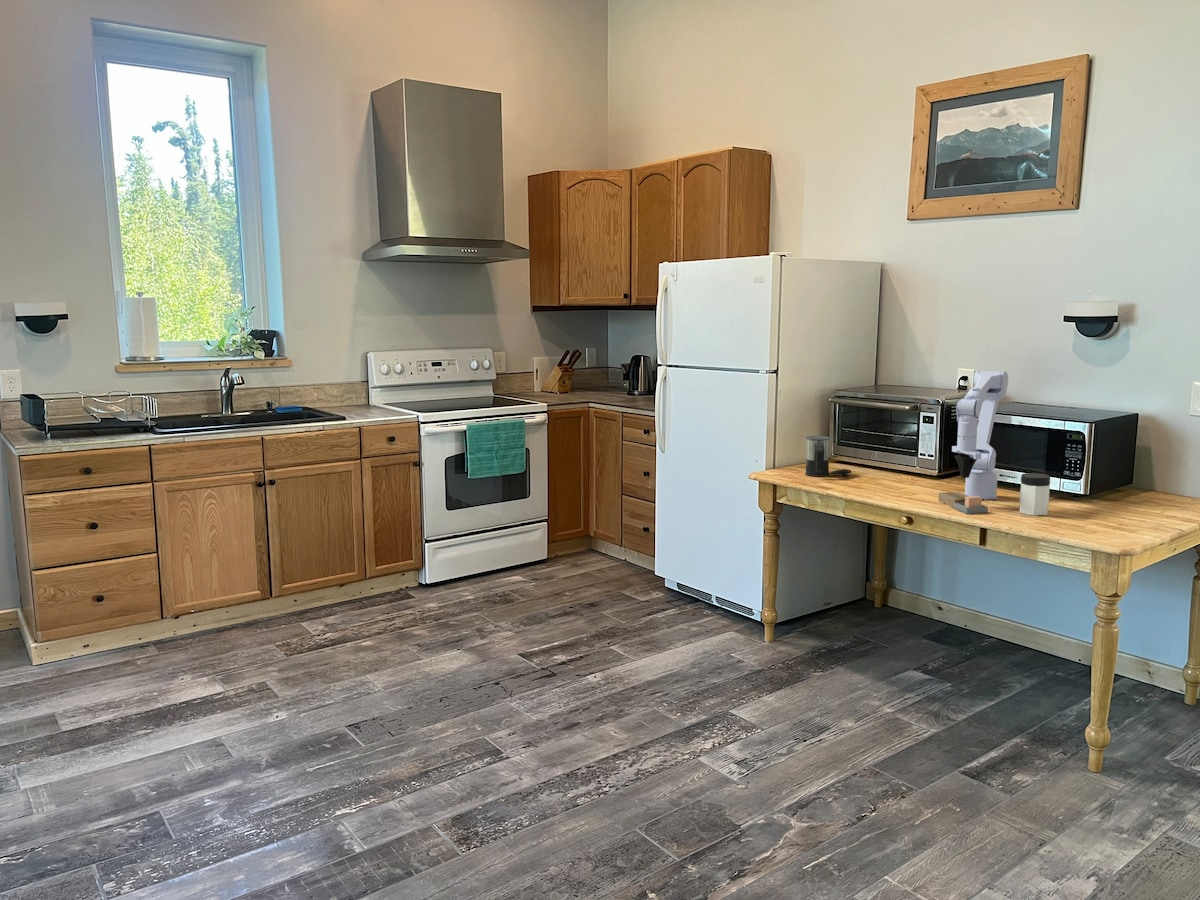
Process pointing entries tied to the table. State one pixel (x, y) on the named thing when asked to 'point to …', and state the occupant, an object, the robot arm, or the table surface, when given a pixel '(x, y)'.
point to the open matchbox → (952, 498)
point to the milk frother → (819, 457)
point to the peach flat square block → (973, 501)
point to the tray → (970, 508)
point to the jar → (1034, 494)
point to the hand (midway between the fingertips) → (964, 477)
